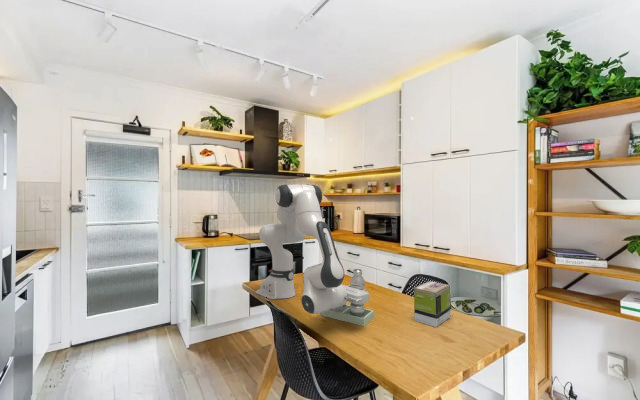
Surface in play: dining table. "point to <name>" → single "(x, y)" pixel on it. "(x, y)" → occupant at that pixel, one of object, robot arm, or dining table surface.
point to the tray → (350, 316)
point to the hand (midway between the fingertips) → (358, 289)
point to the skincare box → (339, 308)
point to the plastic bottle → (359, 284)
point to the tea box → (432, 303)
